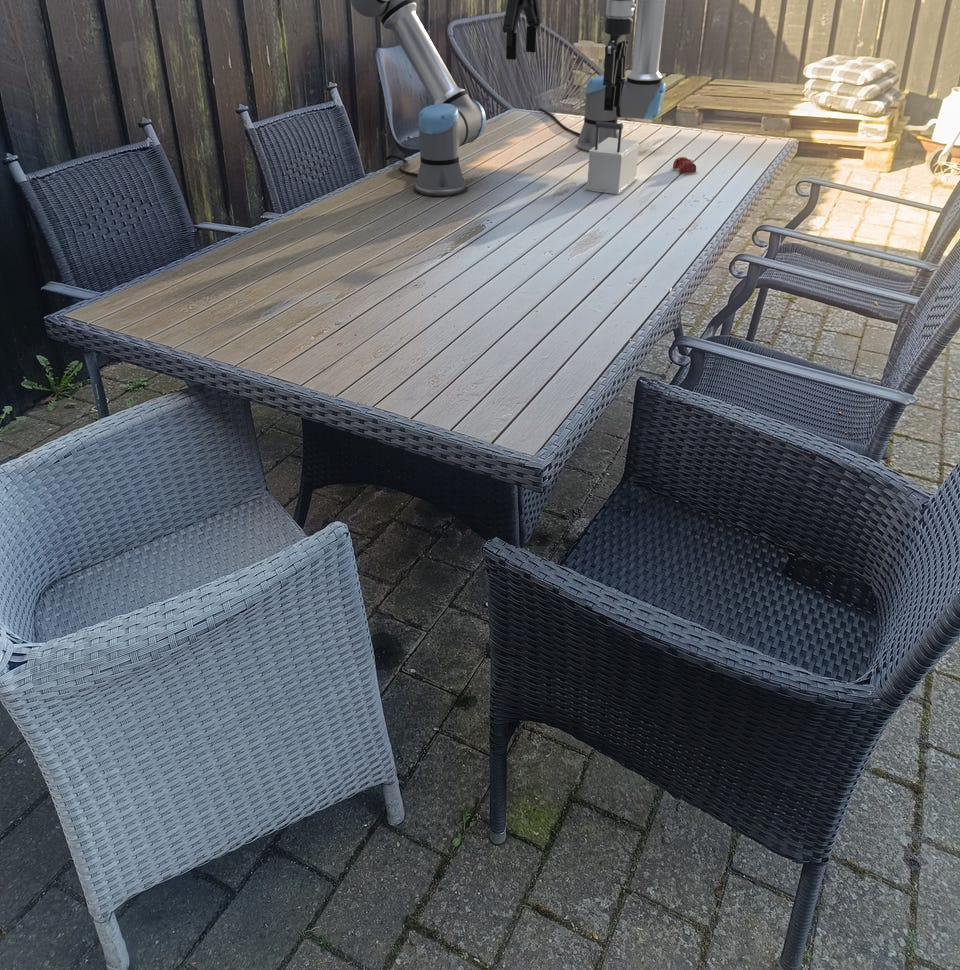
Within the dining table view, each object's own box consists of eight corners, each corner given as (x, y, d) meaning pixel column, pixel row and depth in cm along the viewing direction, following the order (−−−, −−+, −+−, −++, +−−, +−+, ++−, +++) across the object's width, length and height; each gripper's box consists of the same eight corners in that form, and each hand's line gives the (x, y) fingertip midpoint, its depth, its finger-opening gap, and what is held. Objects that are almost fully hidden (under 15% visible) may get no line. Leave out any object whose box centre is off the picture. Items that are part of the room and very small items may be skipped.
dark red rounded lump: (688, 153, 276) (699, 160, 270) (686, 166, 279) (697, 173, 272) (672, 155, 275) (682, 161, 269) (670, 168, 278) (681, 175, 271)
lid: (620, 157, 248) (623, 125, 242) (588, 153, 251) (590, 122, 246) (639, 143, 261) (642, 113, 256) (608, 140, 264) (610, 110, 259)
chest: (618, 194, 254) (621, 157, 248) (586, 190, 258) (589, 153, 252) (635, 179, 267) (639, 143, 261) (605, 175, 271) (608, 140, 264)
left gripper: (517, -28, 216) (515, 63, 229) (553, -35, 234) (550, 50, 247) (490, -29, 219) (490, 61, 231) (529, -36, 237) (526, 48, 249)
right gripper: (622, 22, 223) (614, 116, 236) (642, 14, 236) (633, 103, 249) (595, 20, 225) (588, 113, 239) (616, 12, 238) (609, 101, 252)
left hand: (521, 55), depth 239 cm, fingers open, 13 cm apart
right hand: (611, 108), depth 244 cm, fingers open, 5 cm apart
